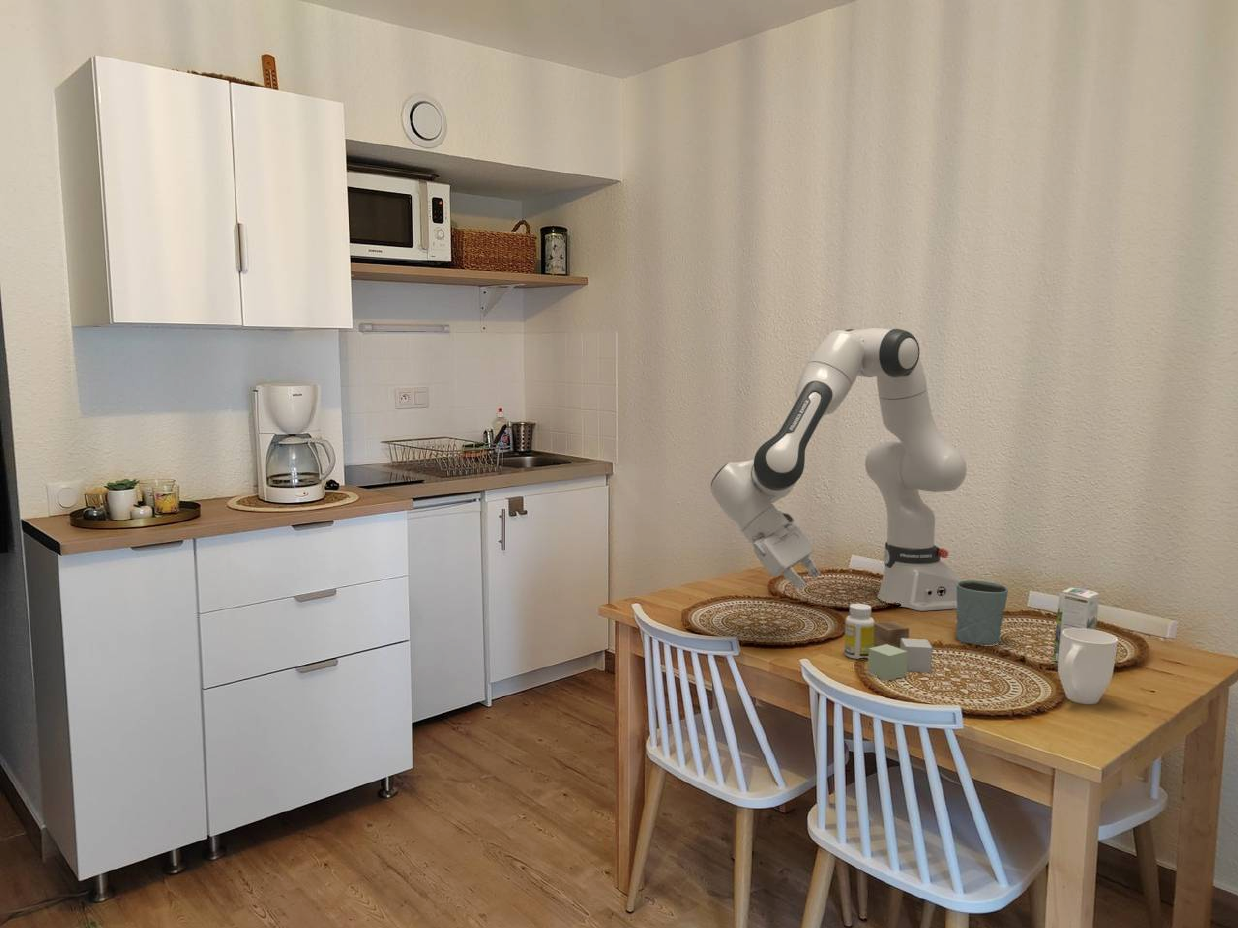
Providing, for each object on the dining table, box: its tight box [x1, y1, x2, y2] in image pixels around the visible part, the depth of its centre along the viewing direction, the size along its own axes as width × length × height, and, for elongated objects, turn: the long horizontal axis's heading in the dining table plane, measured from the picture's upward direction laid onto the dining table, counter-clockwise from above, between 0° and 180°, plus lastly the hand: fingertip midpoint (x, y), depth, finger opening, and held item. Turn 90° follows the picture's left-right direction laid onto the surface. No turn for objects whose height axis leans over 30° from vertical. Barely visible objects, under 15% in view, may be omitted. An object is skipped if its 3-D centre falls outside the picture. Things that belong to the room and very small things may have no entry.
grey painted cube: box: [900, 638, 933, 673], centre depth 177 cm, size 5×5×5 cm
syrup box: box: [1052, 587, 1100, 661], centre depth 180 cm, size 6×6×14 cm
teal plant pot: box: [955, 579, 1009, 645], centre depth 193 cm, size 10×10×12 cm
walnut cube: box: [874, 620, 910, 649], centre depth 188 cm, size 5×5×5 cm
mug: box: [1057, 628, 1119, 705], centre depth 160 cm, size 12×9×12 cm
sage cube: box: [867, 644, 908, 681], centre depth 172 cm, size 5×5×5 cm
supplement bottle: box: [844, 603, 875, 660], centre depth 183 cm, size 6×6×10 cm
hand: (810, 581), depth 187 cm, fingers open, 8 cm apart
